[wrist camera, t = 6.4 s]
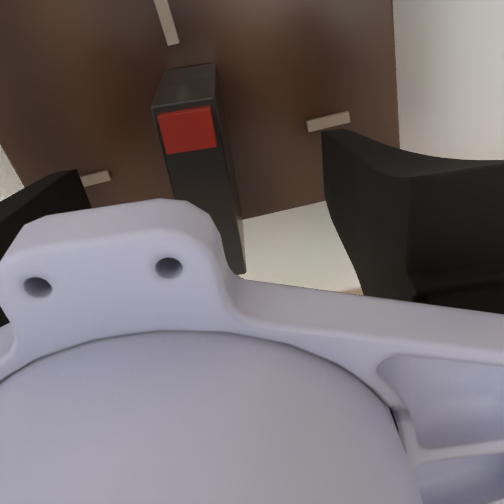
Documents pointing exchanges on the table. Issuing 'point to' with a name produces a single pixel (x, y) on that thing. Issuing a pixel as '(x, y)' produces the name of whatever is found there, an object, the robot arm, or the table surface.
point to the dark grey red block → (200, 151)
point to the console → (187, 55)
